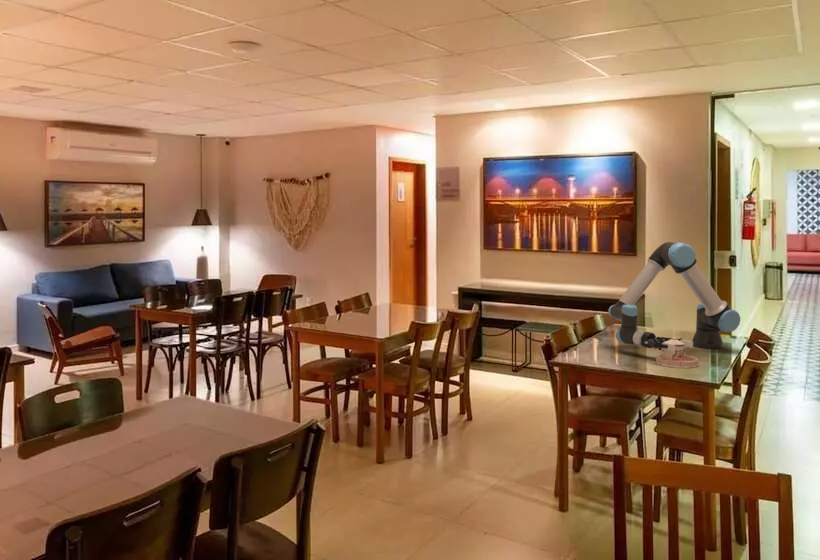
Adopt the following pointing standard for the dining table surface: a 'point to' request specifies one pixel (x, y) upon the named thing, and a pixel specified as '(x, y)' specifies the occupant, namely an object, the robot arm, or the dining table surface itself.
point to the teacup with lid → (678, 352)
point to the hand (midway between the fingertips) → (683, 346)
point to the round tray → (687, 362)
